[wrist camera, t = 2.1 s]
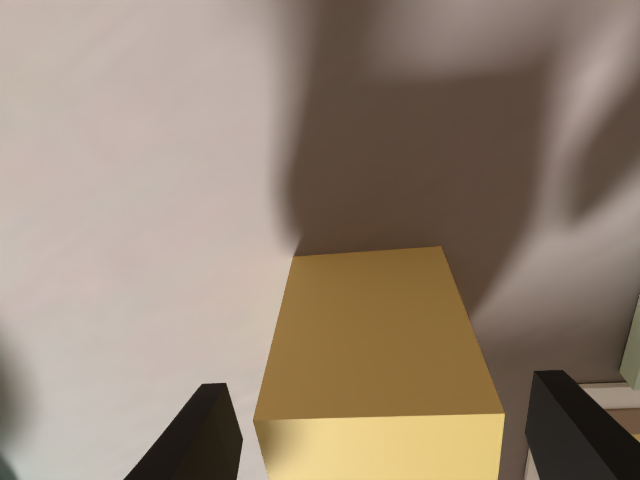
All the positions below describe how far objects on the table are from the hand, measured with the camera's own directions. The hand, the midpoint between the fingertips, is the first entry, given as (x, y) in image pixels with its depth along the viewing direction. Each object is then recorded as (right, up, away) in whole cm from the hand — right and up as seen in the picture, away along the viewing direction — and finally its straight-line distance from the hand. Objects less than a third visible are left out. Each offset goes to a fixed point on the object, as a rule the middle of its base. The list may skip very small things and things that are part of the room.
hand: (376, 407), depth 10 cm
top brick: (0, +2, +4) cm, 4 cm away
